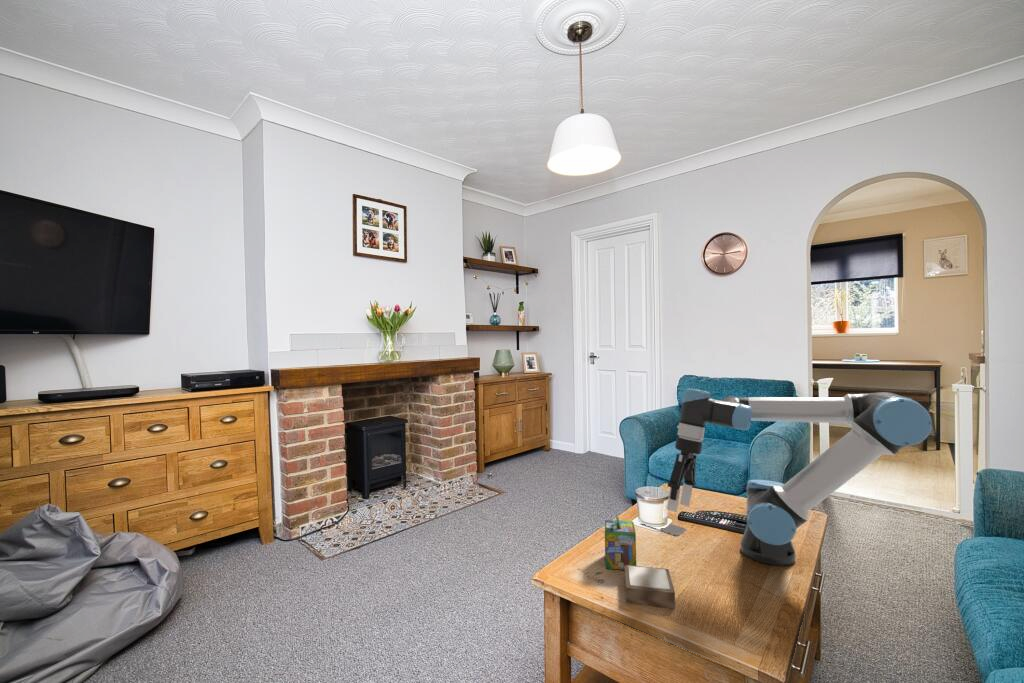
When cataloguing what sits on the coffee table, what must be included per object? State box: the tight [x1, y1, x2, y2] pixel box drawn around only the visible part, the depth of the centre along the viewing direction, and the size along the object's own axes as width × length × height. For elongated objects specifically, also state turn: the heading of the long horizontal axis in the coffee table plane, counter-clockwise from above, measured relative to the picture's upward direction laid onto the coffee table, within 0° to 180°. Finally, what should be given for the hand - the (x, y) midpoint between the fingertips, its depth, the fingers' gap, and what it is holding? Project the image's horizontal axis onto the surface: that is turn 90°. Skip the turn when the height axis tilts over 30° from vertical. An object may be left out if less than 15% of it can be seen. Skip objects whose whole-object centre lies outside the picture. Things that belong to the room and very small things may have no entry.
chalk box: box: [604, 512, 637, 571], centre depth 137 cm, size 9×9×15 cm
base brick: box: [624, 565, 676, 609], centre depth 121 cm, size 12×12×4 cm
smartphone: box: [660, 523, 687, 537], centre depth 164 cm, size 7×1×15 cm
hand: (678, 508), depth 137 cm, fingers open, 13 cm apart
